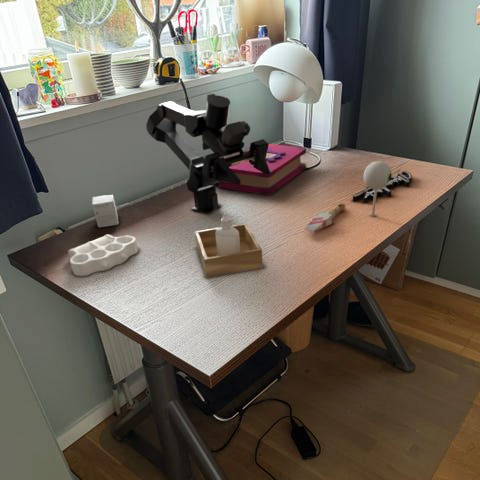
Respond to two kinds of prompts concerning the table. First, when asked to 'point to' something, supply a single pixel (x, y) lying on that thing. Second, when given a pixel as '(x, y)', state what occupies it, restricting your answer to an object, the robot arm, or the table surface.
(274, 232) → the table surface
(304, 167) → the book
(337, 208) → the cricket bat
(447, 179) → the table surface
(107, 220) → the product box
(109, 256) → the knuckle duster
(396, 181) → the nameplate
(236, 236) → the eye dropper bottle
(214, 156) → the robot arm
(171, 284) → the table surface
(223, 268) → the crate
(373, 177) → the lollipop
